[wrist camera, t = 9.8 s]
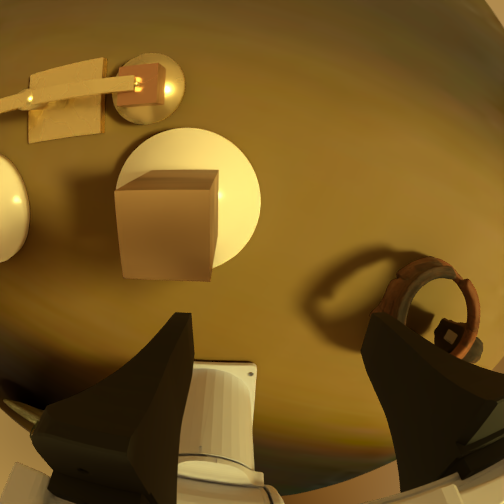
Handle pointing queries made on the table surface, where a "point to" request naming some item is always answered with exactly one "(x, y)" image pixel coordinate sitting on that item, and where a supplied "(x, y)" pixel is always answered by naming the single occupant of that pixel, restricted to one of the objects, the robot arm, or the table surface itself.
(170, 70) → the balance
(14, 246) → the cream round disc
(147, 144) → the dish low side
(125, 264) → the block
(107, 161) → the table surface
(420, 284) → the brown segmented ring
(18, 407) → the lid
